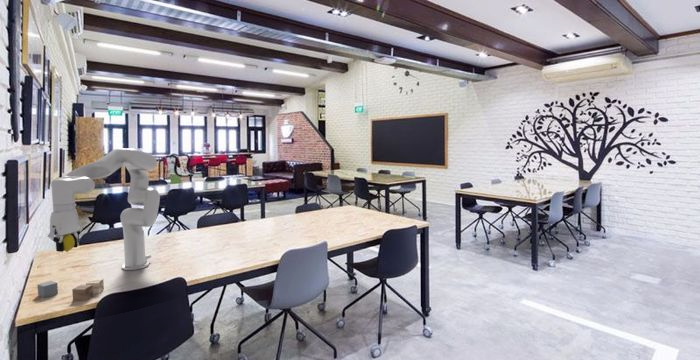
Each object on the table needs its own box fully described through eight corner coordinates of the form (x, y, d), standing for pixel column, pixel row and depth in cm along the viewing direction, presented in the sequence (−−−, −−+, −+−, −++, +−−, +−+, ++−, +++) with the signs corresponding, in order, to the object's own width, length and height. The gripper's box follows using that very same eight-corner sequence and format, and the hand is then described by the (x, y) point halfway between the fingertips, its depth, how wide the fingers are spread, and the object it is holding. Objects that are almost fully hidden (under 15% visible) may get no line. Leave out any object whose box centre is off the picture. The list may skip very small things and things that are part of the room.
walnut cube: (81, 295, 161) (80, 284, 161) (93, 296, 161) (92, 284, 161) (72, 300, 156) (72, 289, 156) (84, 301, 156) (84, 289, 156)
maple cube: (91, 290, 168) (90, 279, 167) (103, 289, 169) (103, 278, 169) (86, 294, 163) (85, 283, 162) (99, 293, 164) (98, 282, 164)
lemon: (57, 252, 160) (56, 233, 160) (72, 249, 165) (71, 231, 164) (61, 254, 157) (60, 235, 156) (77, 251, 161) (76, 233, 161)
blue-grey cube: (51, 291, 166) (50, 280, 165) (57, 293, 164) (57, 282, 163) (38, 295, 161) (37, 284, 161) (44, 297, 159) (43, 286, 159)
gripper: (75, 204, 168) (77, 243, 170) (36, 211, 151) (40, 254, 153) (89, 204, 167) (91, 244, 168) (52, 211, 150) (55, 255, 152)
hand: (67, 248), depth 161 cm, fingers closed on lemon, 5 cm apart
